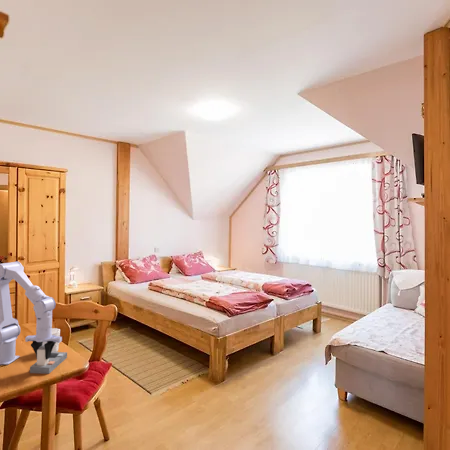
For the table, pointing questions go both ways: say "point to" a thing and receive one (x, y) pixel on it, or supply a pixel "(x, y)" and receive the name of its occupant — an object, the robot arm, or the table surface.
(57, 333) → the white cup
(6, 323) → the robot arm
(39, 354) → the plug
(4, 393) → the table surface
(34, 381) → the table surface
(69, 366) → the table surface
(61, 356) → the socket strip
